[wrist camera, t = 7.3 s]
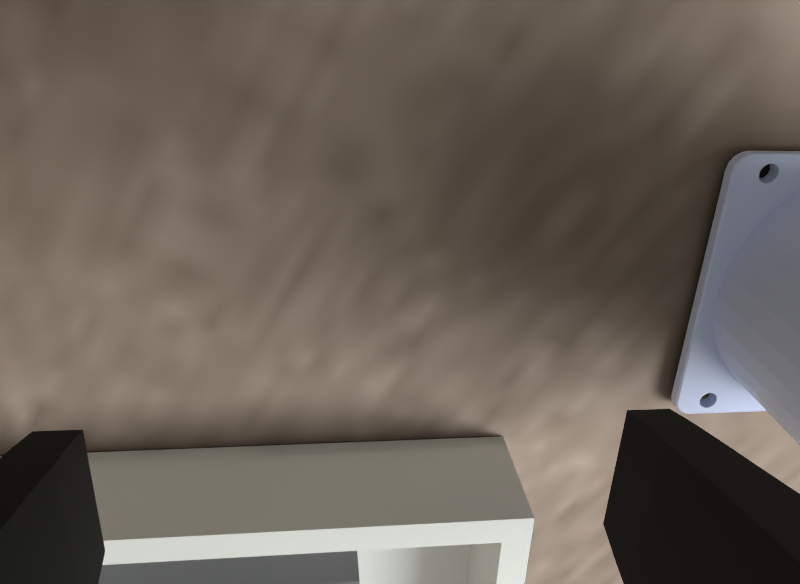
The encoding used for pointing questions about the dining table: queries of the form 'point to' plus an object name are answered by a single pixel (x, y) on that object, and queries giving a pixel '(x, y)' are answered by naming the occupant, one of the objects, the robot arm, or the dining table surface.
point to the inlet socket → (241, 570)
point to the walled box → (323, 507)
